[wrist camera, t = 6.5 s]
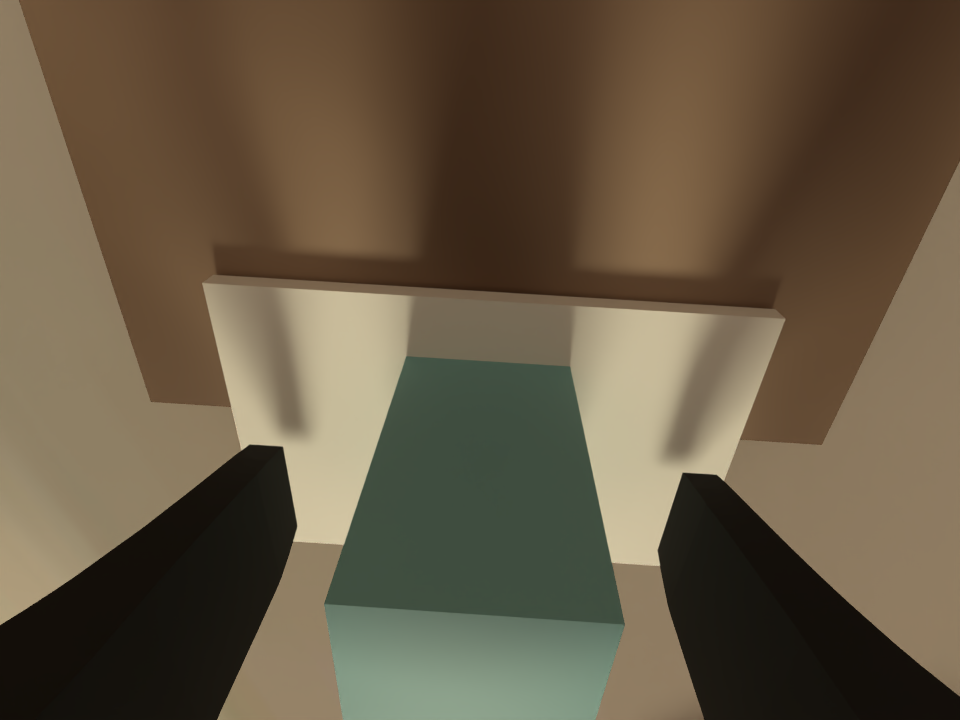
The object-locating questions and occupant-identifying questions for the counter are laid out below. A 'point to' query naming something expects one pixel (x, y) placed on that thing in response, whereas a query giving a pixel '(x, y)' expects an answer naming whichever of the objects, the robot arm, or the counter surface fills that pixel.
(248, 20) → the board
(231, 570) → the robot arm
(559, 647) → the cream plaque with block
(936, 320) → the counter surface
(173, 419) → the counter surface
